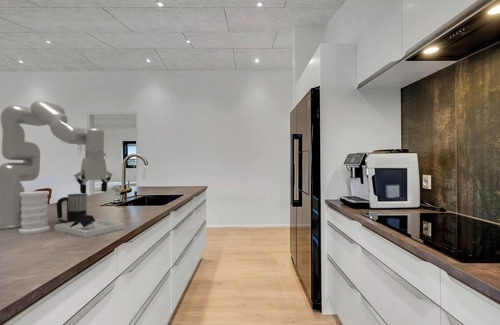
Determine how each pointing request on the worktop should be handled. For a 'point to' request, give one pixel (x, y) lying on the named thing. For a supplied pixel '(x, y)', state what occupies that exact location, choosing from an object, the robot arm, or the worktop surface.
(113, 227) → the tray
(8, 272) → the worktop surface
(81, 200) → the milk frother
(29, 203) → the decorative container
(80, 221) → the power plug
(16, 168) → the robot arm
